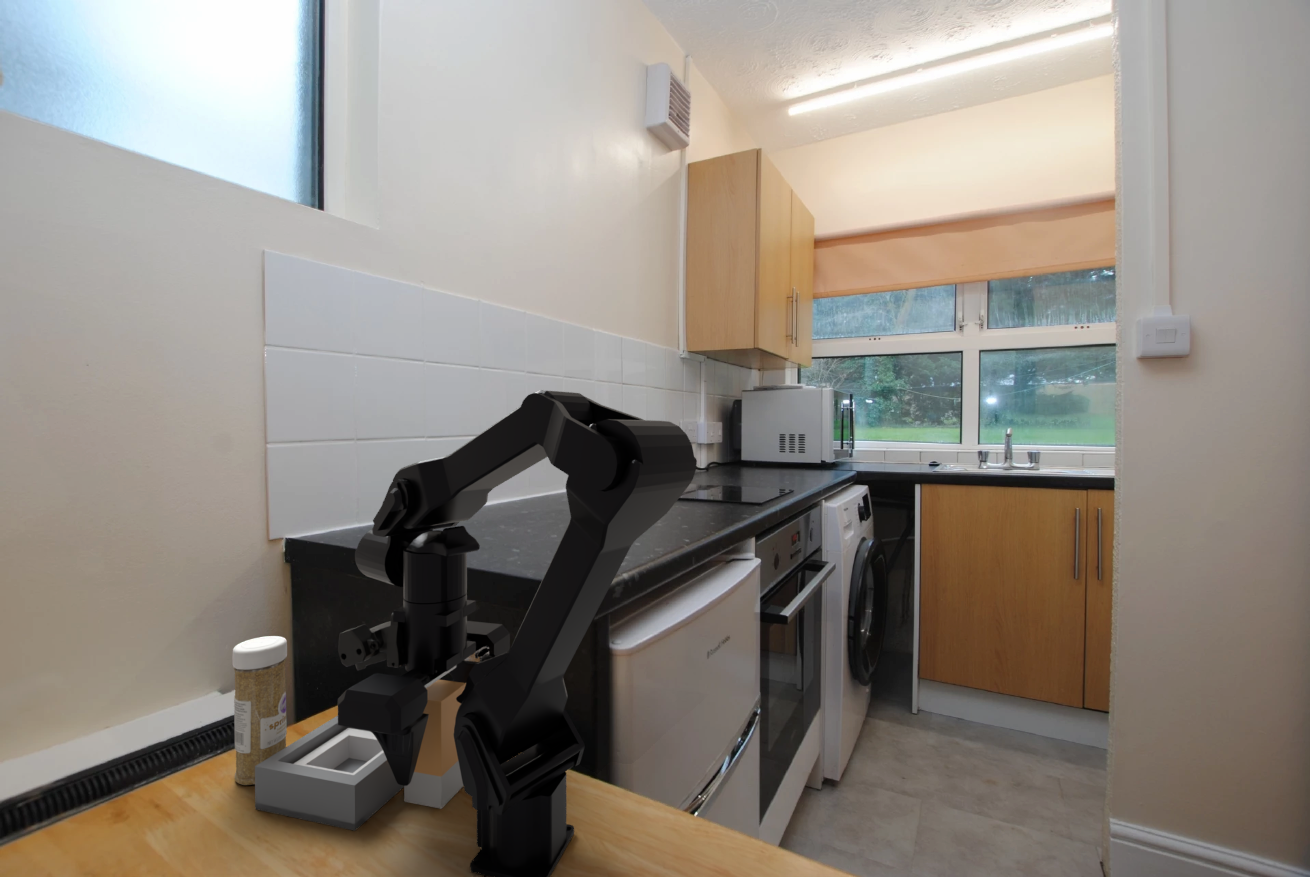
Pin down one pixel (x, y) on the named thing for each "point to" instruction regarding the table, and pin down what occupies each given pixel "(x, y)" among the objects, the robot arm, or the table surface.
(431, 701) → the block
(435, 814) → the table surface
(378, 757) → the inlet box
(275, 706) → the sprinkles bottle
